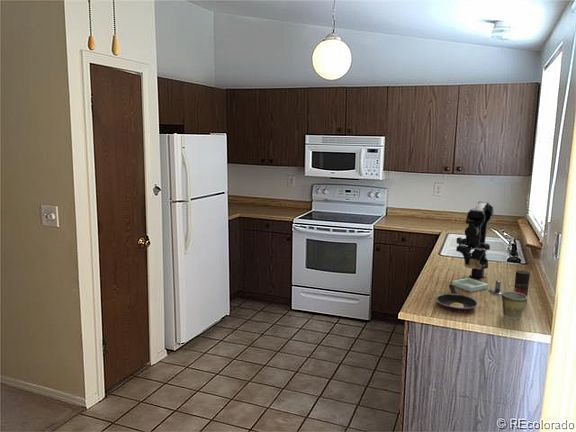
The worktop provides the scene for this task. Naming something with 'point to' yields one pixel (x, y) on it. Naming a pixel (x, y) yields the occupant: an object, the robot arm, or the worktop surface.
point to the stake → (496, 289)
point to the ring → (473, 264)
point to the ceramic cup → (513, 304)
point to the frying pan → (456, 301)
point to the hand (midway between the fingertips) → (471, 263)
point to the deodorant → (522, 282)
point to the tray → (470, 284)
